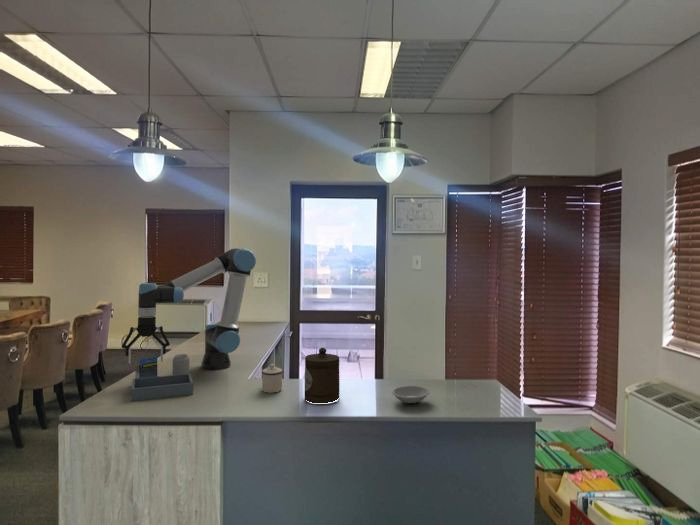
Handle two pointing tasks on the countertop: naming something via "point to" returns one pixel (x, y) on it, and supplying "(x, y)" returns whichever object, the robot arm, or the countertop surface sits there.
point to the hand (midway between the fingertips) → (145, 361)
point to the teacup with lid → (272, 379)
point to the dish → (410, 393)
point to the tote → (161, 387)
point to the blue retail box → (146, 368)
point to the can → (180, 364)
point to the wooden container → (321, 377)
